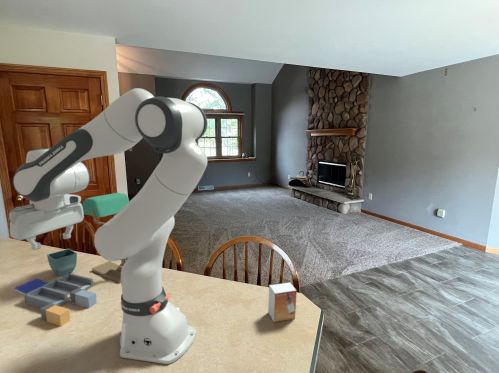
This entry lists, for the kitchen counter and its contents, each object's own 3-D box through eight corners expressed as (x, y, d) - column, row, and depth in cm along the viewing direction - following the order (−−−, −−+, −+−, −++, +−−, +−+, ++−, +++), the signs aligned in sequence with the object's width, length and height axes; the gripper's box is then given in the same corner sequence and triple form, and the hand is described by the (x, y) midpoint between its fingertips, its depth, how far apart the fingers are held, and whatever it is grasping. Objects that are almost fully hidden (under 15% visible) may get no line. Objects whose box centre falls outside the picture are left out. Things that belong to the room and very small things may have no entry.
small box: (273, 322, 88) (274, 293, 86) (267, 312, 94) (268, 284, 92) (295, 318, 90) (297, 290, 89) (289, 308, 96) (290, 281, 94)
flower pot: (71, 266, 125) (69, 248, 123) (79, 271, 120) (77, 253, 118) (48, 273, 118) (46, 254, 116) (56, 280, 113) (54, 260, 111)
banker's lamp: (111, 287, 108) (104, 202, 102) (82, 274, 118) (74, 196, 112) (144, 271, 121) (139, 195, 115) (115, 260, 131) (110, 190, 125)
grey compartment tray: (93, 286, 108) (92, 278, 108) (50, 310, 93) (49, 302, 92) (70, 280, 113) (69, 273, 112) (25, 302, 97) (24, 294, 96)
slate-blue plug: (96, 303, 97) (95, 292, 97) (89, 308, 95) (88, 297, 94) (78, 298, 100) (77, 288, 100) (70, 302, 98) (69, 292, 97)
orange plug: (70, 320, 88) (69, 309, 87) (61, 326, 85) (59, 314, 85) (51, 314, 91) (50, 303, 90) (41, 319, 88) (40, 308, 88)
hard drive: (13, 287, 105) (31, 295, 100) (37, 277, 112) (55, 285, 107) (14, 291, 105) (32, 299, 100) (37, 281, 113) (55, 288, 107)
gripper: (16, 210, 72) (22, 258, 75) (85, 195, 91) (88, 234, 93) (1, 207, 74) (7, 254, 77) (72, 193, 93) (75, 231, 96)
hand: (52, 243), depth 85 cm, fingers open, 8 cm apart
